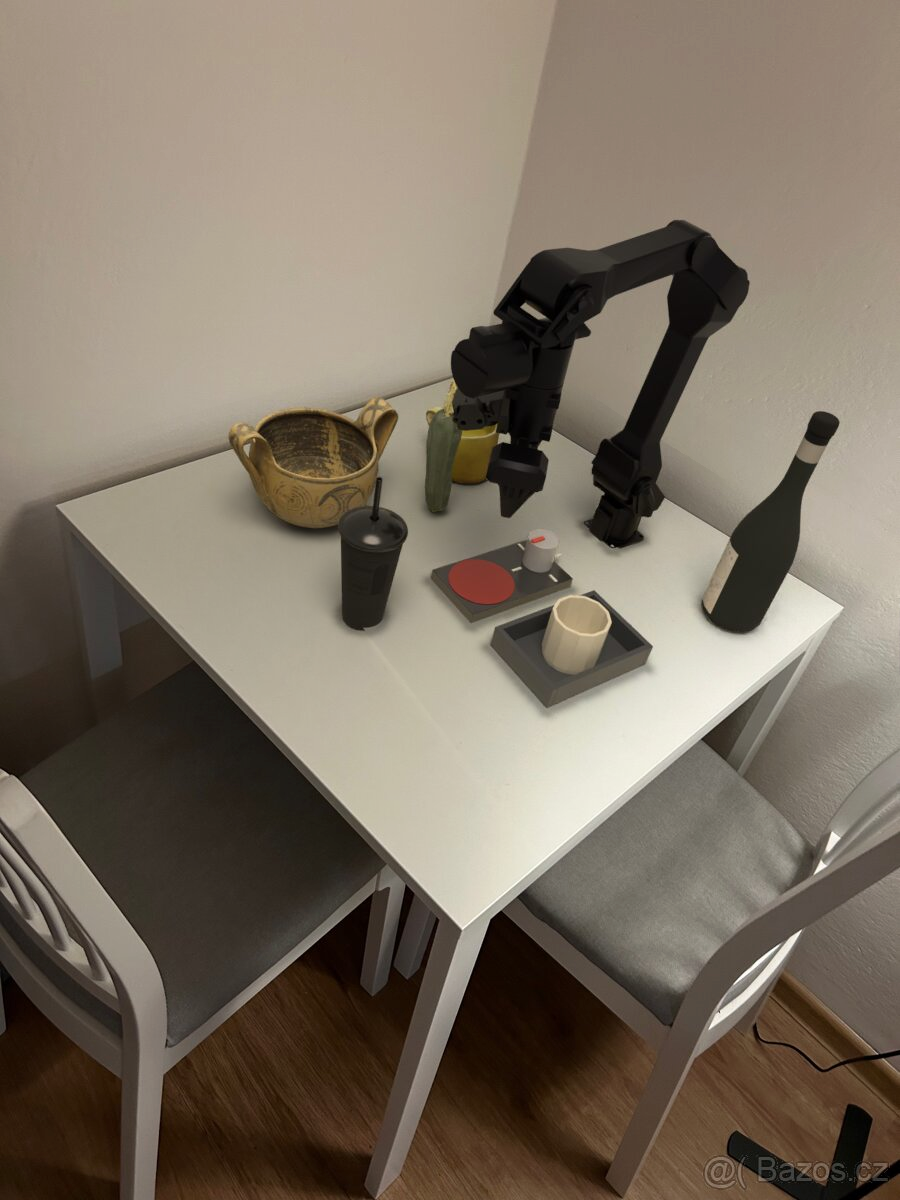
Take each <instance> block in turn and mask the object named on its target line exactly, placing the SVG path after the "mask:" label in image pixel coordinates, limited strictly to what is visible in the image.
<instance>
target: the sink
mask: <svg viewBox="0 0 900 1200" xmlns="http://www.w3.org/2000/svg"><path fill="white" fill-rule="evenodd" d="M579 596H586V597H588V598H590V599H593V600H595V601H597V602H599V603H600V604H601V605H602V606H603V607H604V608H605V609H606V610H608V612H609V614H610V618H611V621H612V623H611V626H610V629H609V631H608V634H607V637H606V639H605V642H604V645H603V647H602V650H601V652H600V655H599V658H598V660H597V662H596V664H595V666H594V667H592V668H590V669H587V670H585V671H583V672H580V673H578V674H576V675H572V674H566V673H563V672H560V671H558V670H556V669H554V668H553V667H552V666H550V665H549V664H548V663H547V662H546V660H545V659H544V657H543V654H542V645H541V644H542V641H543V638H544V635H545V631H546V628H547V625H548V622H549V619H550V615H551V612H552V609H553V607H554V605H555V604H553V605H550V606H548V607H544V608H542V609H539V610H537V611H533V612H532V613H528V614H526V615H523V616H521V617H517V618H515V619H513V620H510V621H506V622H504V623H502V624H499V625H496V626H495V627H494V629H493V633H492V636H491V641H490V645H489V646H490V647H491V648H492V649H493V651H494V652H496V654H497V655H498V656H499V657H500V658H501V659H502V660H503V662H504V663H506V665H507V666H508V667H509V669H511V671H512V672H513V673H514V674H515V675H516V676H517V678H518V679H520V680H521V682H522V683H523V684H524V685H525V687H527V688H528V690H529V691H530V692H531V693H532V694H533V695H534V696H535V698H537V700H538V701H539V702H540V703H541V704H542V705H543V706H544V707H545V709H549V708H550V707H553V706H555V705H559V704H560V703H562V702H565V701H566V700H568V699H571V698H573V697H575V696H578V695H580V694H582V693H584V692H587V691H589V690H592V689H593V688H595V687H598V686H600V685H603V684H604V683H605V684H606V683H607V682H609V681H612V680H613V679H616V678H618V677H621V676H622V675H625V674H627V673H629V672H631V671H633V670H636V669H639V668H640V667H642V666H645V665H647V662H648V660H649V657H650V655H651V653H652V650H653V648H654V645H652V644H651V642H649V641H648V640H647V639H646V638H645V637H644V636H643V635H642V634H641V633H640V632H639V631H638V630H637V629H636V628H634V627H633V625H632V624H630V622H629V621H627V620H626V619H625V618H624V617H623V616H622V615H621V614H620V613H619V612H618V611H617V610H616V609H615V608H613V606H612V605H611V604H610V603H608V602H607V601H606V599H604V598H603V597H602V596H601V595H600V594H599V593H598V592H597V591H596V590H594V589H593V590H591V591H588V592H585V593H582V594H580V595H579Z"/></svg>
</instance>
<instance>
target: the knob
mask: <svg viewBox="0 0 900 1200" xmlns="http://www.w3.org/2000/svg"><path fill="white" fill-rule="evenodd" d="M526 540H527V543H526V546H525V550H524V554H523V557H522V563H523V565H524V566H525V567H526V568H527V569H529V570H531V571H534V572H538V573H543V572H547V571H549V570H550V569H551V568H552V565H553V561H555V559H556V558H555V555H557V551H558V548H559V545H560V539H559V537H558V535H556V533H554V532H552V531H550V530H547V529H543V528H537V529H533V530H531V531H530V532H529V533H528V536H527V539H526Z"/></svg>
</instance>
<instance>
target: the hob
mask: <svg viewBox="0 0 900 1200" xmlns="http://www.w3.org/2000/svg"><path fill="white" fill-rule="evenodd" d="M526 543H527V539H525V540H522V541H519V542H514V543H512V544H509V545H506V546H502V547H500V548H497V549H493V550H490V551H487V552H483V553H481V554H477V555H474V556H471V557H468V558H465V559H462V560H459V561H456V562H452V563H449V564H447V565H442V566H440V567H437V568H434V569H431V574H430V580H431V581H432V582H433V583H434V584H435V585H436V587H438V588H439V589H440V591H441V592H442V593H443V594H444V596H446V598H448V600H449V601H450V602H451V603H452V604H453V606H455V608H456V609H457V610H458V611H459V613H461V614H462V615H463V617H464V618H465V619H466V620H467V621H468V622H469V623H470V624H473V623H477V622H478V621H479V622H480V621H482V620H484V619H487V618H490V617H493V616H495V615H498V614H500V613H503V612H507V611H509V610H511V609H515V608H518V607H519V606H522V605H525V604H527V603H531V602H533V601H536V600H539V599H542V598H544V597H547V596H550V595H552V594H556V593H559V592H561V591H564V590H566V589H570V588H571V586H572V583H573V581H574V580H573V577H572V576H571V575H570V574H569V573H567V571H565V570H564V569H563V568H562V566H560V565H559V563H557V562H556V560H554V561H553V565H552V568H551V569H550V570H549V571H547V572H543V573H538V572H534V571H531V570H529V569H527V568H526V567H525V566H524V565H523V563H522V557H523V554H524V550H525V546H526ZM561 556H563V554H562V553H561V552H560V553H556V555H555V558H554V559H557V558H559V557H561ZM471 559H479V560H486V561H489V562H492V563H495V564H497V565H499V566H501V567H502V568H504V569H505V570H506V571H507V572H508V573H509V574H510V575H511V577H512V578H513V580H514V585H515V587H514V592H513V594H512V595H511V596H510V598H508V599H507V600H505V601H503V602H501V603H498V604H491V605H484V604H477V603H474V602H470V601H468V600H466V599H464V598H462V597H461V596H459V595H458V594H457V593H456V592H455V591H454V590H453V589H452V588H451V586H450V584H449V580H448V576H449V572H450V570H451V568H452V567H453V566H454V565H456V564H457V563H459V562H462V561H465V560H471Z"/></svg>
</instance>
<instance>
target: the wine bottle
mask: <svg viewBox="0 0 900 1200" xmlns="http://www.w3.org/2000/svg"><path fill="white" fill-rule="evenodd" d="M839 419H840V418H838V417H837V416H836V415H834V413H830V412H828V411H824V410H823V411H822V410H818V411H815V412H813V413H812V415H811V417H810V418H809V421H808V423H807V428H806V430H805V433H804V435H803V437H802V439H801V441H800V443H799V445H798V448H797V450H796V451H795V453H794V457H793V458H792V460H791V462H790V464H789V466H788V468H787V470H786V472H785V474H784V476H783V478H782V479H781V481H780V482H779V484H778V485H777V486H776V487H775V488H774V490H772V491H771V493H770V494H769V495H767V496H766V498H765V499H764V500H762V501H761V502H760V503H758V504H757V505H756V506H754V508H753V509H751V510H750V511H749V512H748V513H747V514H746V515H745V516H744V517H743V518H742V519H741V520H740V522H739V523H738V524H737V525H736V527H735V528H734V530H733V531H732V533H731V535H730V537H729V539H728V541H727V543H726V546H725V548H724V549H723V552H722V554H721V556H720V558H719V561H718V563H717V565H716V567H715V569H714V572H713V573H712V576H711V577H710V580H709V583H708V584H707V587H706V589H705V591H704V594H703V596H702V598H701V608H702V611H703V613H704V615H705V616H706V618H707V619H708V620H709V621H710V622H711V623H713V624H714V625H715V626H717V627H718V628H720V629H722V630H724V631H728V632H732V633H739V634H740V633H743V634H745V633H749V632H752V631H754V630H755V629H757V627H759V626H760V625H761V623H762V622H763V620H764V618H765V616H766V615H767V614H768V611H769V609H770V607H771V605H772V603H773V601H774V599H775V598H776V595H778V592H779V590H780V588H781V587H782V584H783V582H784V581H785V579H786V577H787V575H788V573H789V571H790V570H791V567H792V566H793V564H794V561H795V558H796V555H797V552H798V547H799V543H800V538H801V520H802V519H801V517H802V503H803V497H804V494H805V491H806V489H807V486H808V484H809V482H810V479H811V478H812V475H814V474H813V473H814V472H815V469H816V468H817V466H818V465H819V464H818V463H819V462H820V460H821V458H822V456H823V454H824V452H825V450H826V449H827V446H828V445H829V443H830V441H831V439H832V438H833V437H834V436H835V434H836V433H837V431H838V428H839V426H840V424H841V422H840V421H841V420H839Z"/></svg>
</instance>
